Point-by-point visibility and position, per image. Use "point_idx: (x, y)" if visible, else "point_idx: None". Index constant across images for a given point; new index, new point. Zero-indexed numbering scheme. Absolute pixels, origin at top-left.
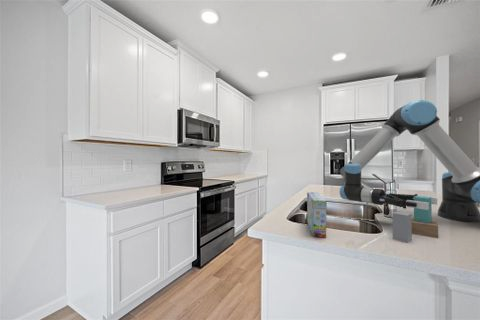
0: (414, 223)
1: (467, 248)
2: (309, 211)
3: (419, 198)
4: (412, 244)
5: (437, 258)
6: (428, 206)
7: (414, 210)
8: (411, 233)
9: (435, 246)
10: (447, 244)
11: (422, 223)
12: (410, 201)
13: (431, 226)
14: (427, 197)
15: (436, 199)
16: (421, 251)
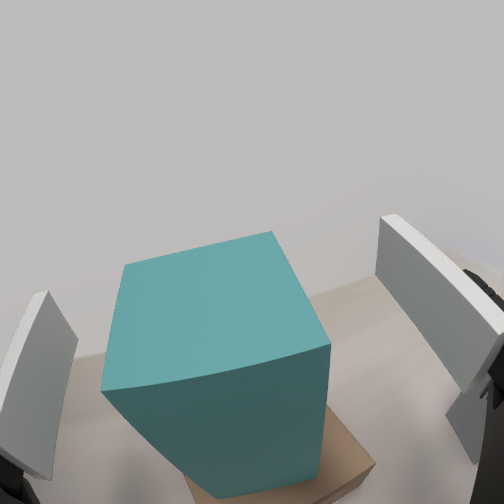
0: (362, 449)
1: (314, 309)
2: None
3: (303, 297)
4: None
5: None
6: (383, 247)
7: (319, 442)
8: (458, 397)
9: (413, 343)
10: (343, 345)
11: (330, 415)
12: (486, 305)
13: None
14: (187, 265)
15: (52, 303)
16: None
